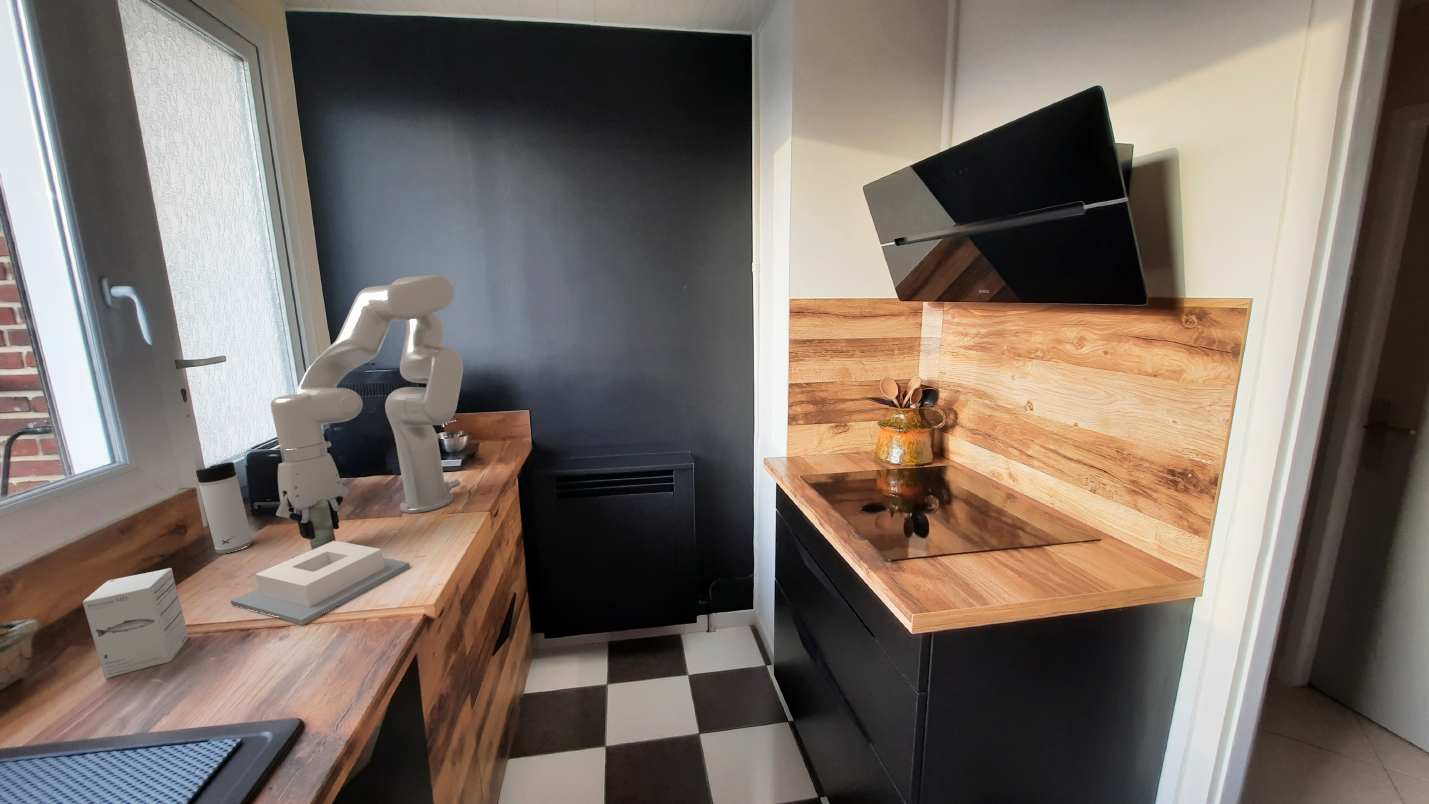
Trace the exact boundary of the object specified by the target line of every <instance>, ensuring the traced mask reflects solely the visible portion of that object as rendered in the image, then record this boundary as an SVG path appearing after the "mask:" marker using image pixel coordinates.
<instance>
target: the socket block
mask: <svg viewBox="0 0 1429 804" xmlns="http://www.w3.org/2000/svg"><path fill="white" fill-rule="evenodd" d="M409 568H411V565H410V562H408V561H403V560H402V561H401V560H397V559H392V558H386V557H383V551H382V548H377V547H371V546H365V545H362V544H361V545H360V544H357V543H356V544H354V543H349V542H344V541H340V540H336V541H332V542H330V543H327V544H325V545H323V546H320V547H318V548H316V549H313V550H312V549H311V550H309V551H307V552H304V553H301V554H299V555H297V556H294V557H293V558H290V559H287V560H286V561H283V562H281V563H279V564H276V565H274V566H272V567H269V568H267V569H264V570H262V571H260V572H258V573H255V575H254V576H255V580H256V584H257V588H256V589H252V590H251V591H249V592H246V593H245V594H241V595H239V596H238V597H236V598H233V599H231V600H230V603H231V606H232V605H234V606H233V607H235V606H238V607H237V608H239V607H242V608H246V609H250V610H254V611H258V612H262V613H265V614H270V615H274V616H279V617H281V618H282V619H284V620H283V621H285V622H290V623H293V624H297V625H300V626H304V625H306V624H308V623H310V622H312V621H314V620H315V619H317V618H319V617H321V616H322V615H321V614H323V613H324V612H326V611H328V610H330V611H332V610H334V609H336V608H337V607H336V606H338V607H339V605H340V606H342V605H343V604H346V602H349V601H350V600H353V599H354V598H356V597H359V595H361V594H363V593H366V592H368V591H369V590H371V589H373V588H374V587H376V586H378V585H380V584H382V583H384V582H386V581H388V580H389V579H390V578H393V577H394V576H397V575H398V574H400V573H402V572H404V571H405V570H408V569H409ZM335 607H336V608H335ZM242 608H241V609H242ZM333 608H334V609H333ZM246 609H245V610H246ZM331 609H332V610H331ZM250 610H249V611H250ZM320 615H321V616H320ZM323 615H324V614H323ZM282 619H281V620H282Z"/></svg>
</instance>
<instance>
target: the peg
mask: <svg viewBox="0 0 1429 804" xmlns="http://www.w3.org/2000/svg"><path fill="white" fill-rule="evenodd" d="M308 520H309V521H312V524H313V529H314V534H315V538H314V539H312V540H311V539H308V540H309V544H310V548H311V550H313V549H316V548H318V547H320V546H323V545H325V544H327V543H330V542H332V541H337V540H336V535H335V531H334V530H335V529H333V524H332V519H331V515H330V510H329V505H328V501H327V500H326V501H325V499H323V500H320V501H317V503H316V504H315V505H313V506H311V507H309V515H308Z"/></svg>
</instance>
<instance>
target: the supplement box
mask: <svg viewBox="0 0 1429 804" xmlns="http://www.w3.org/2000/svg"><path fill="white" fill-rule="evenodd" d="M176 586H177V585H176V582H175V579H174V573H173V569H172V568H171V567H168V568H164V569H160V570H154V571H150V572H145V573H144V572H143V573H139V574H135V575H134V574H133V575H129V576H124V577H118V578H113V579H109V580H107V581H105V582H104V583H103V584H102V585H101V586H98V588H96V590H95V591H94V592H92V593H91V594H89V595H88V597H86V598H84V600H83V601H82V605H83V607H84V611H85V616H86V619H87V622H88V625H89V628H90V633H91V636H92V639H93V643H94V646H95V649H96V652H97V653H96V654H97V656H98V659H99V664H100V666H101V670H102V673H103V677H104V679H106V680H107V679H109V678H112V677H116V676H119V675H123V674H127V673H131V672H134V671H138V670H143V669H147V668H150V667H154V666H158V665H161V664H168V663H171V661H173V659H174V658H175V656H176V655H177V654H178V652H179V651H180V650H181V649H182V647H183V646H184V645H185V644H186V642H187V640H188V639H189V633H188V630H187V625H186V621H185V617H184V612H183V609H182V606H181V602H180V597H179V593H178V590H177V587H176Z"/></svg>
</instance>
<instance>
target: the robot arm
mask: <svg viewBox="0 0 1429 804" xmlns="http://www.w3.org/2000/svg"><path fill="white" fill-rule="evenodd" d="M454 299H455V289H454V286H453V284H452V282H451V281H449V280H448V279H447V278H446V277H444V276H442V275H438V274H430V275H429V274H427V275H419V276H417V275H416V276H415V275H414V276H405V277H401V278H397V279H396V280H393V282H391V284H388V285H375V286H367V287H366V288H363V289H362V290H360V291H359V292H358V293H357V295H356V296H355V299H354V301H353V303H352V305H351V308H350V309H349V312H348V314H347V316H346V319H345V320H344V323H343V325H342V327H341V329H340V332H339V333H338V335H337V338H336V340H335V341H334V342H333V343H332V344H331V345H330V346H328V347H327V348H326V349H325V350H323V352H322V353H321V354H320V355H319V356H318V357H317V358H316V359H315V360H314V361H313V362H312V363H311V364H310V366H308V368H307V369H306V371H305V372H304V375H303V376H302V379H301V381H300V383H299V384H298V387H297V390H296V391H295V393H294V394H287V395H281V396H278V397H275V398H273V399H272V400H271V403H270V409H271V413H272V414H271V415H272V418H273V424H274V427H275V433H276V437H277V442H278V445H279V450H280V455H281V460H282V462H281V463H278V464H277V465H278V466H277V486H278V494H279V501H280V504H279V505H278V509H277V511H276V513H275V515H276V516H277V517H281V518H285V519H290V520H291V521H294V522H295V523H296V522H297V525H298V529H299V534H300V536H301V537H302V538H303V539H306V540H309V539H311V540H312V539H314V538H315V534H314V529H313V524H312V521H309V520H308V515H309V507H311V506H313V505H315V504H316V503H317V501H320V500H323V499H325V501H326V500H327V501H328V505H329V510H330V515H331V519H332V524H333V529H334V530H338V529H340V525H339V523H340V519H339V518H340V517H339V515H338V511H339V510H340V505H342V502H343V500H344V498H346V497H347V496H348V494H349V493H350V489H349V488H348V487H347V486H345V485H344V484H342V483H341V478H340V474H339V471H338V468H337V466H336V463H335V461H334V458H333V457H332V455H331V454H330V452H329V453H328V448H330V447H331V446H332V443H331V441H329V440H328V441H326V439H325V437H324V433H323V432H324V431H323V427H322V426H323V425H324V424H335V423H343V422H348V421H351V420H352V419H354V418H356V417H357V416H358V415H359V414H360V413H361V411H362V409H363V405H364V403H363V399H362V397H361V395H359V394H358V393H357V392H356V391H354V390H352V389H349V388H346V387H338V385H339V383H340V382H341V381H342V380H343V379H344V377H346V376H347V375H348V374H349V373H350V372H352V371H353V370H355V369H357V368H359V367H360V366H362V365H364V364H366V363H369V361H371V360H373V359H375V358H376V357H377V356H378V355H379V354H380V350H381V348H382V347H383V343H384V341H385V339H386V336H387V334H388V332H389V329H390V327H391V325H392V324H393V322H404V321H405V324H406V328H405V329H406V331H405V337H404V343H403V348H402V352H401V358H400V363H399V372H400V375H401V377H402V378H403V379H405V380H406V381H408V382H411V383H417V384H426V385H425V386H426V387H423V386H420V387H419V386H405V387H400V388H397V389H395V390H393V391H392V392H391V393H390V394H388V396H387V397H386V400H385V404H384V408H385V410H384V411H385V414H386V417H387V419H388V422H389V424H390V427H391V429H392V433H393V436H394V442H395V444H396V445H395V446H396V453H397V458H398V463H399V470H400V474H401V480H402V487H403V492H404V497H405V500H404V501H402V502H401V503H400V504H399V510H400V511H401V512H403V513H408V514H416V513H417V514H418V513H423V512H430V511H434V510H437V509H441V508H443V507H445V506H447V505H449V504H451V503H452V502H453V501H454V499H455V498H454V494H453V493H452V492H450V491H452V489H455V488H457V487H459V486H460V485H461V481H460V480H459V479H454V480H452V481H450V482H449V481H448V480H445V475H444V472H443V463H442V458H441V457H442V456H441V451H440V445H439V439H438V435H437V432H436V430H435V428H434V426H441V425H444V424H447V423H449V422H450V421H451V420H452V419H453V417H454V415H455V413H456V411H457V407H458V404H459V403H458V401H459V398H460V397H459V396H460V393H461V387H462V380H463V374H464V364H463V363H464V362H463V360H462V357H461V355H460V354H459V352H458V351H456V350H455V349H454V348H452V347H450V346H445V345H443V336H444V331H443V330H444V329H443V328H444V327H443V325H442V322H441V320H440V318H439V317H438V315H437V314H436V312H440V311H442V310H444V309H446V308H448V307H449V306H450V305H451V304H452V303H453V302H454ZM291 508H293V512H291V511H289V510H290V509H291Z"/></svg>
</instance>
